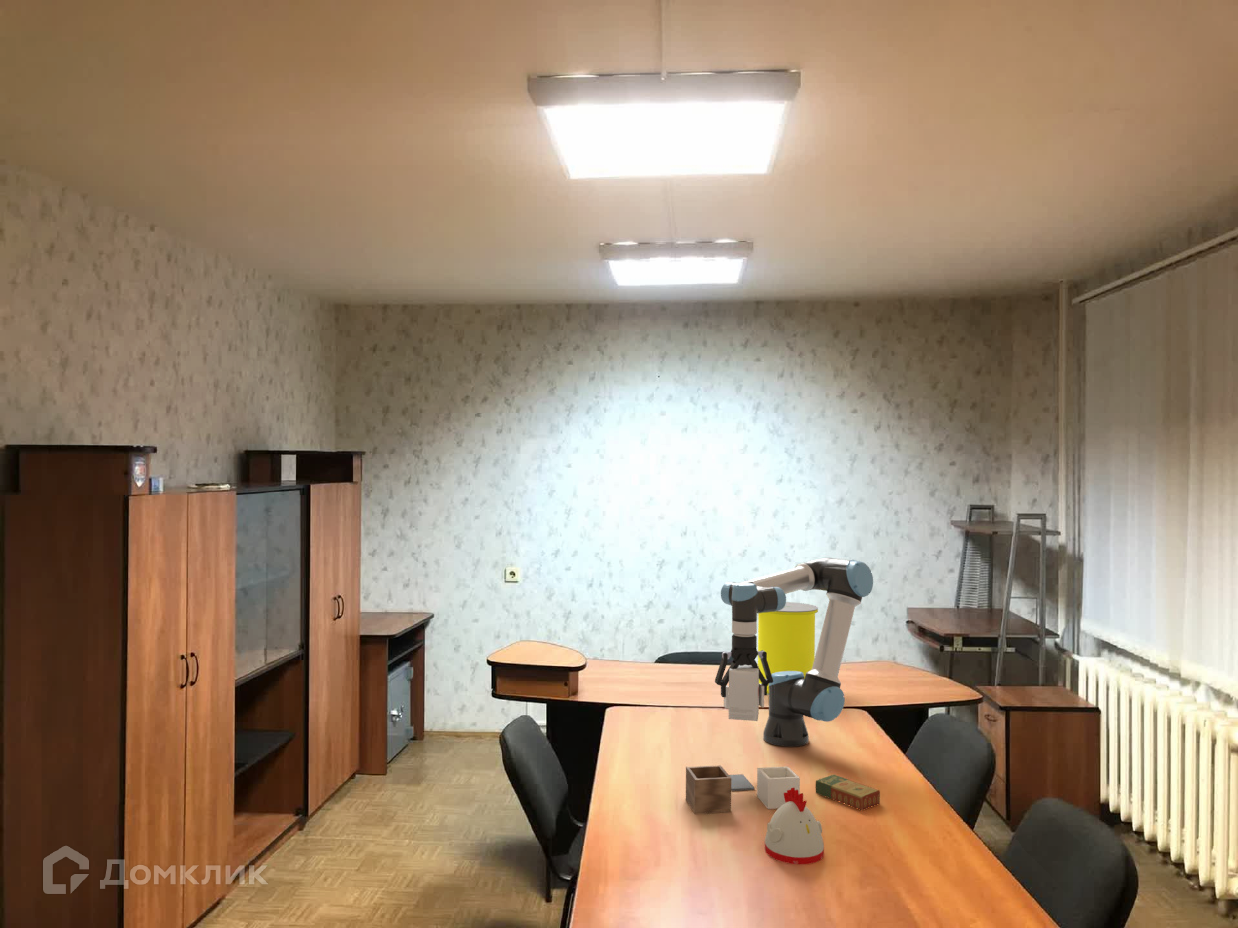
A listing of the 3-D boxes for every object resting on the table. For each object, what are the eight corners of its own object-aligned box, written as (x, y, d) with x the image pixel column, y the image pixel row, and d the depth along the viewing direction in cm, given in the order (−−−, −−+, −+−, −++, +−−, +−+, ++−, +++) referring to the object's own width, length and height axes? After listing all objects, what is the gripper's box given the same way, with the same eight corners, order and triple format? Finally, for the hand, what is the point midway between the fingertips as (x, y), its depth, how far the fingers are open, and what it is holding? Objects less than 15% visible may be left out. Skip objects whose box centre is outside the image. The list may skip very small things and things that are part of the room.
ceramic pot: (787, 794, 240) (787, 766, 240) (799, 806, 231) (799, 777, 231) (757, 796, 239) (757, 767, 239) (767, 808, 230) (768, 779, 230)
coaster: (742, 776, 255) (742, 774, 255) (754, 789, 244) (754, 787, 244) (707, 777, 253) (707, 775, 253) (717, 791, 242) (717, 789, 242)
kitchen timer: (786, 868, 195) (787, 803, 195) (753, 844, 208) (754, 782, 208) (835, 858, 201) (836, 794, 201) (801, 835, 213) (801, 775, 213)
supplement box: (758, 721, 254) (758, 671, 254) (728, 719, 256) (728, 670, 256) (759, 713, 263) (759, 664, 263) (730, 711, 265) (730, 663, 265)
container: (754, 680, 374) (755, 600, 374) (814, 683, 370) (815, 602, 371) (755, 695, 348) (756, 610, 349) (820, 698, 344) (820, 612, 345)
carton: (861, 812, 229) (861, 796, 229) (814, 793, 242) (814, 778, 242) (880, 804, 234) (880, 789, 234) (833, 787, 247) (833, 772, 247)
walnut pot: (720, 797, 237) (720, 765, 237) (731, 811, 227) (731, 777, 228) (685, 799, 236) (685, 766, 236) (694, 813, 226) (695, 779, 226)
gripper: (775, 631, 265) (775, 701, 265) (704, 632, 261) (704, 704, 261) (784, 635, 258) (784, 708, 258) (711, 637, 254) (710, 711, 254)
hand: (743, 706), depth 260 cm, fingers closed on supplement box, 10 cm apart
